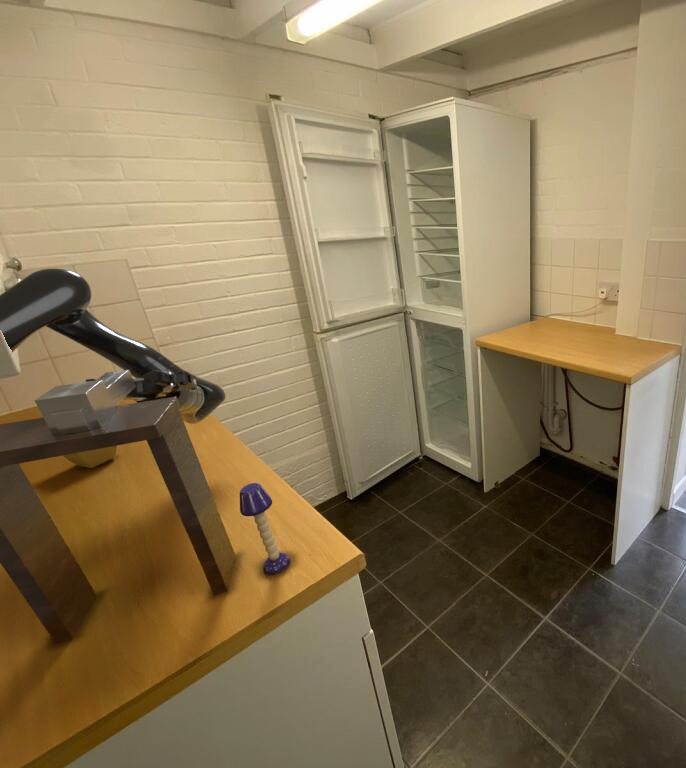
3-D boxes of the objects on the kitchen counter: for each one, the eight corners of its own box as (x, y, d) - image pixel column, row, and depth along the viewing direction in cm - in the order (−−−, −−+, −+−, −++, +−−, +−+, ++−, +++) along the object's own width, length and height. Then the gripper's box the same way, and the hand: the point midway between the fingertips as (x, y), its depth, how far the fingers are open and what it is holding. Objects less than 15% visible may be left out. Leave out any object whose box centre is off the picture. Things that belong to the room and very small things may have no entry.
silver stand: (50, 437, 53) (31, 402, 51) (105, 390, 67) (92, 361, 65) (100, 428, 55) (83, 394, 53) (143, 385, 69) (132, 356, 67)
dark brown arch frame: (51, 649, 61) (-78, 465, 48) (85, 595, 69) (-18, 426, 56) (226, 596, 68) (155, 424, 56) (237, 553, 77) (177, 396, 64)
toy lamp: (255, 573, 72) (226, 495, 66) (273, 553, 77) (248, 478, 70) (280, 576, 72) (253, 498, 65) (297, 555, 76) (273, 480, 69)
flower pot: (64, 469, 104) (47, 437, 100) (105, 450, 112) (90, 421, 108) (86, 474, 101) (70, 443, 98) (127, 455, 109) (113, 425, 105)
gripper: (120, 381, 80) (62, 365, 65) (206, 368, 85) (171, 351, 70) (125, 419, 80) (68, 412, 65) (212, 404, 85) (178, 394, 69)
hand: (122, 380), depth 67 cm, fingers open, 8 cm apart
